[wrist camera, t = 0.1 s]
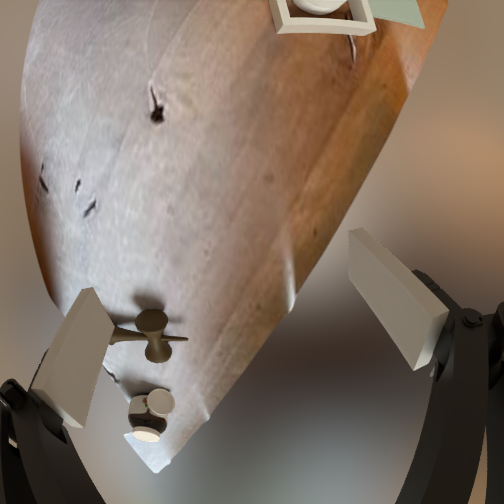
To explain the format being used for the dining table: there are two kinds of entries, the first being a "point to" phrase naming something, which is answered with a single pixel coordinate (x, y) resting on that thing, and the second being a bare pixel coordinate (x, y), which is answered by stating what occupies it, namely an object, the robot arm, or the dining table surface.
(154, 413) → the spread jar
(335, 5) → the bottle
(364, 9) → the bottle holder
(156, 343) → the kendama
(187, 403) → the dining table surface
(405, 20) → the mat
